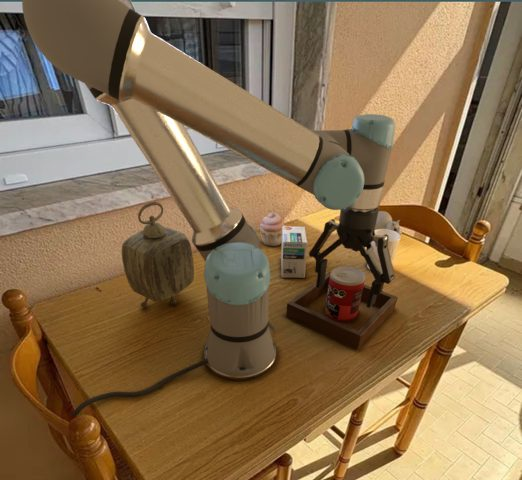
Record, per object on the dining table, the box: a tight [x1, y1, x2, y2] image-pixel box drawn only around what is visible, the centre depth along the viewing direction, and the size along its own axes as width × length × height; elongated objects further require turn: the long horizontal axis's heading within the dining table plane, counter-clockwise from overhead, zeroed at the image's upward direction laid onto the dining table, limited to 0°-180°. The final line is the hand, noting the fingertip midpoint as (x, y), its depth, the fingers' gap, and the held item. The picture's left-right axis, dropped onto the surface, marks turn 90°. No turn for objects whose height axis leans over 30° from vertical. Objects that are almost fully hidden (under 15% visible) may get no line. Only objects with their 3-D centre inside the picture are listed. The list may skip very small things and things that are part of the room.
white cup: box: [366, 229, 402, 270], centre depth 108 cm, size 8×8×10 cm
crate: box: [285, 271, 399, 351], centre depth 93 cm, size 19×19×4 cm
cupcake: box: [257, 211, 285, 247], centre depth 120 cm, size 9×9×10 cm
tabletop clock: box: [121, 201, 195, 309], centre depth 89 cm, size 14×9×25 cm, turn 145°
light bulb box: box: [280, 225, 309, 279], centre depth 107 cm, size 11×7×11 cm, turn 179°
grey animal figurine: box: [374, 210, 403, 236], centre depth 123 cm, size 7×12×8 cm, turn 36°
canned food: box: [324, 266, 366, 323], centre depth 90 cm, size 8×8×11 cm
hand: (344, 294), depth 90 cm, fingers open, 13 cm apart
